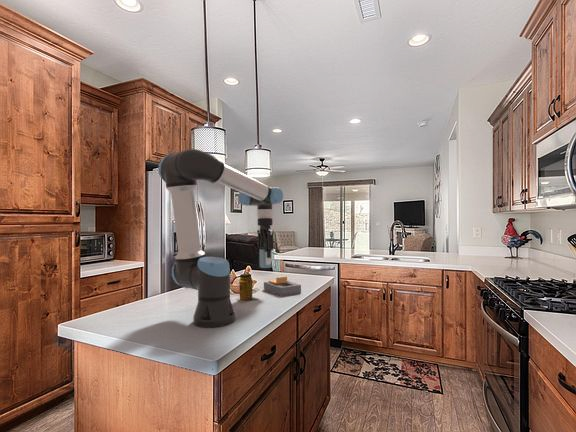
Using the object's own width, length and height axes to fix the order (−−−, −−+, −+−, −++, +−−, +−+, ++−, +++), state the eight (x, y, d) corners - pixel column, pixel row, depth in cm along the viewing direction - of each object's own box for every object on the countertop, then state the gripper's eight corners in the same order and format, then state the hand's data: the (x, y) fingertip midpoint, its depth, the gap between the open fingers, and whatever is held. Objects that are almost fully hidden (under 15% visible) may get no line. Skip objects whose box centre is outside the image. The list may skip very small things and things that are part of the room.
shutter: (288, 282, 166) (288, 276, 166) (275, 284, 162) (275, 278, 162) (281, 280, 172) (281, 274, 173) (268, 281, 168) (268, 275, 168)
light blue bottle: (271, 267, 158) (271, 243, 158) (263, 268, 155) (263, 243, 155) (267, 266, 161) (267, 243, 162) (259, 267, 159) (259, 243, 159)
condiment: (236, 299, 149) (235, 274, 149) (251, 296, 154) (251, 272, 154) (243, 302, 143) (243, 276, 143) (259, 299, 148) (259, 274, 148)
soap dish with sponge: (301, 292, 160) (300, 284, 160) (281, 296, 154) (280, 288, 154) (282, 286, 175) (282, 279, 175) (263, 289, 169) (263, 282, 169)
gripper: (280, 217, 153) (280, 265, 153) (263, 218, 168) (263, 261, 168) (266, 217, 149) (267, 266, 149) (250, 218, 164) (251, 262, 164)
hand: (265, 263), depth 158 cm, fingers closed on light blue bottle, 4 cm apart
